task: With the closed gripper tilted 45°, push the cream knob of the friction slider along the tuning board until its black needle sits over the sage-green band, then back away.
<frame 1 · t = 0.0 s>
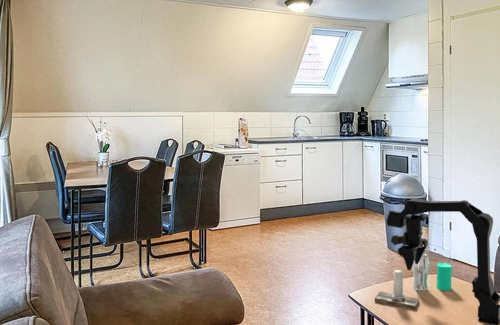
hand: (412, 266, 175), 15 cm above the table, tool pointing down, fingers open, 9 cm apart
tuning board: (396, 302, 176), on the table
beer glass: (420, 289, 189), on the table
candle: (443, 288, 189), on the table
tuning slider: (397, 285, 174), point 7 cm above the table, slide at 0.0 cm
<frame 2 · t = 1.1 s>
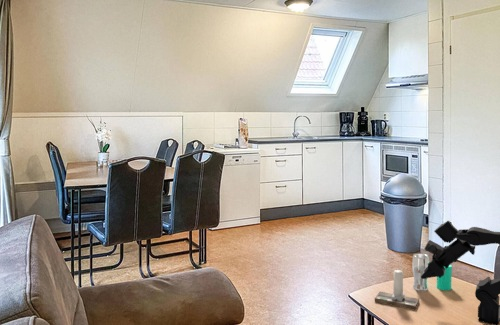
hand: (423, 274, 169), 13 cm above the table, tool tilted 45°, fingers open, 7 cm apart
nothing on the table moved.
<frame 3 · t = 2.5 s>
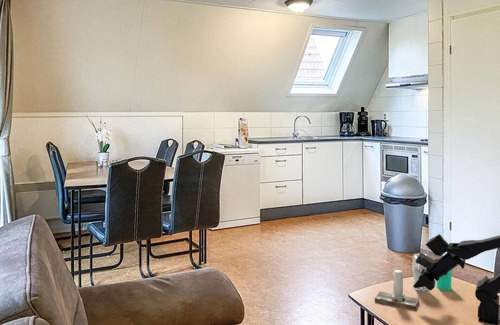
hand: (414, 286, 172), 8 cm above the table, tool tilted 45°, fingers closed
nothing on the table moved.
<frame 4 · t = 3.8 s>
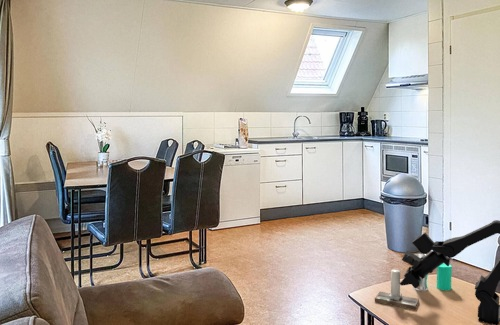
hand: (400, 284, 174), 8 cm above the table, tool tilted 45°, fingers closed, pressing on tuning slider
tuning slider: (395, 284, 175), point 8 cm above the table, slide at 1.1 cm, touching gripper
everything else where it was.
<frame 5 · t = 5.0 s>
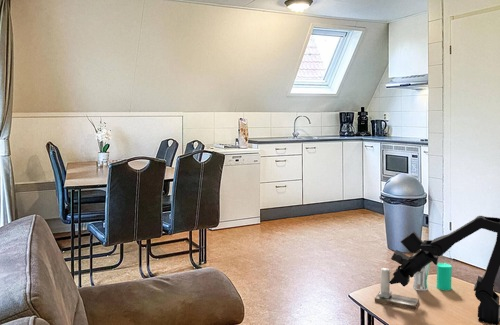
hand: (390, 283, 177), 8 cm above the table, tool tilted 45°, fingers closed, pressing on tuning slider
tuning slider: (384, 283, 177), point 7 cm above the table, slide at 5.3 cm, touching gripper
everything else where it was.
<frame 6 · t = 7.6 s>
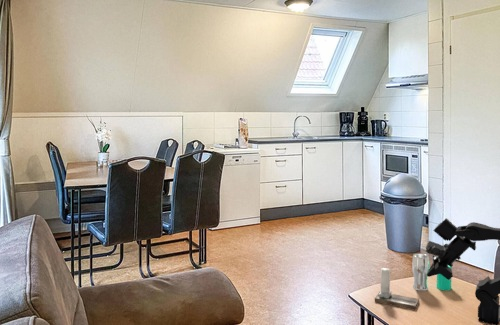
hand: (427, 275, 168), 13 cm above the table, tool tilted 40°, fingers closed
tuning slider: (384, 283, 177), point 8 cm above the table, slide at 5.3 cm
everything else where it was.
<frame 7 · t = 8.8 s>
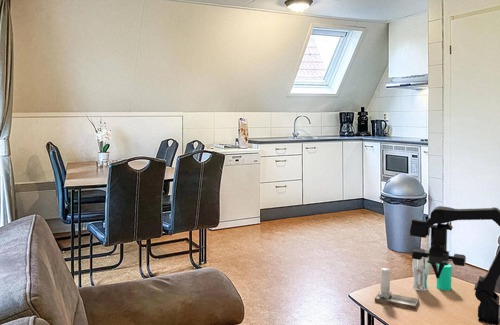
hand: (437, 278, 166), 13 cm above the table, tool pointing down, fingers closed
nothing on the table moved.
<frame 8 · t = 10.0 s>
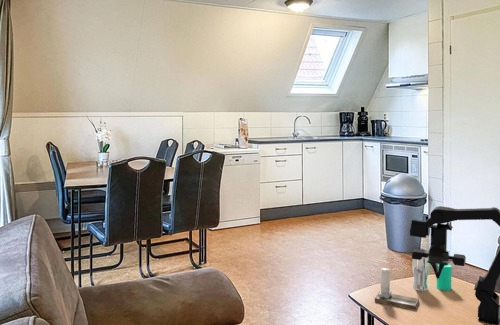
hand: (437, 278, 166), 13 cm above the table, tool pointing down, fingers closed
nothing on the table moved.
at the end: tuning slider slide at 5.3 cm; the gripper is holding nothing; beer glass moved 0.2 cm from its start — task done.
